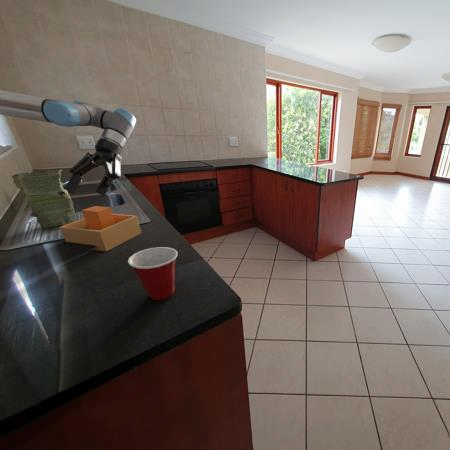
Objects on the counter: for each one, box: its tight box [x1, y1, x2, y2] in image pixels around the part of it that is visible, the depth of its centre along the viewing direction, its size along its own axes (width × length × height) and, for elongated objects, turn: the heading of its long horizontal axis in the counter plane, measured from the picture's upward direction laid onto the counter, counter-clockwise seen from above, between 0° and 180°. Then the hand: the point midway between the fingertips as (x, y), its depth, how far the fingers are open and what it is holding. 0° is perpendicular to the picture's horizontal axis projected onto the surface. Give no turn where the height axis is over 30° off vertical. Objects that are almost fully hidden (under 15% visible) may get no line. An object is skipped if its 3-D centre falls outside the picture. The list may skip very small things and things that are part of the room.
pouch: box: [11, 168, 77, 231], centre depth 97 cm, size 11×12×25 cm
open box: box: [59, 213, 142, 252], centre depth 92 cm, size 18×16×8 cm
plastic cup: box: [127, 246, 179, 301], centre depth 62 cm, size 11×11×12 cm
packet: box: [81, 205, 115, 231], centre depth 90 cm, size 7×5×12 cm
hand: (84, 192), depth 84 cm, fingers open, 13 cm apart
